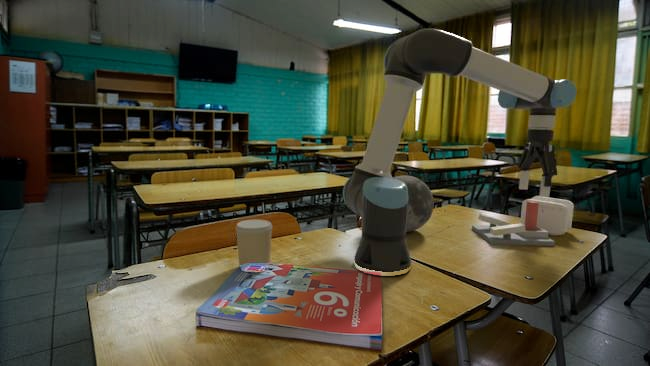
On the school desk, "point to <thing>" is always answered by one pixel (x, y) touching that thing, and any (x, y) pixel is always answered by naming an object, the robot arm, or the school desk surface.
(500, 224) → the block
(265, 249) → the coffee cup
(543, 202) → the cable organizer
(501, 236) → the panel
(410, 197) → the moon model
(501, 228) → the block
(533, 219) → the red capsule
